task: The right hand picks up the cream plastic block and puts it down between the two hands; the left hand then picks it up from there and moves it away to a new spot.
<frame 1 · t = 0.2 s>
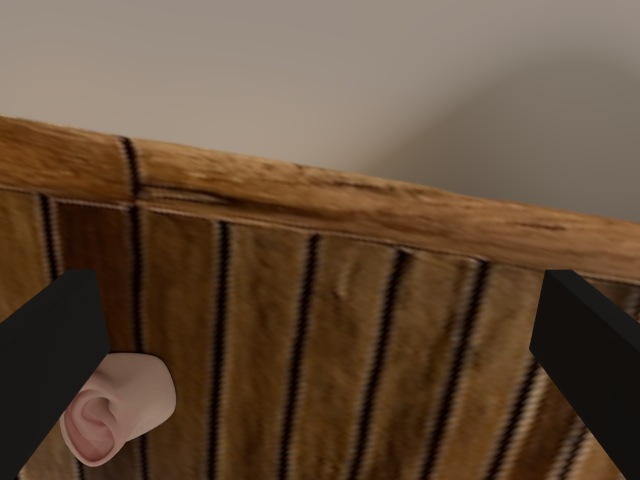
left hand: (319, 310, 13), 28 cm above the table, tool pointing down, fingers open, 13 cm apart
anatomical model: (124, 394, 49), on the table
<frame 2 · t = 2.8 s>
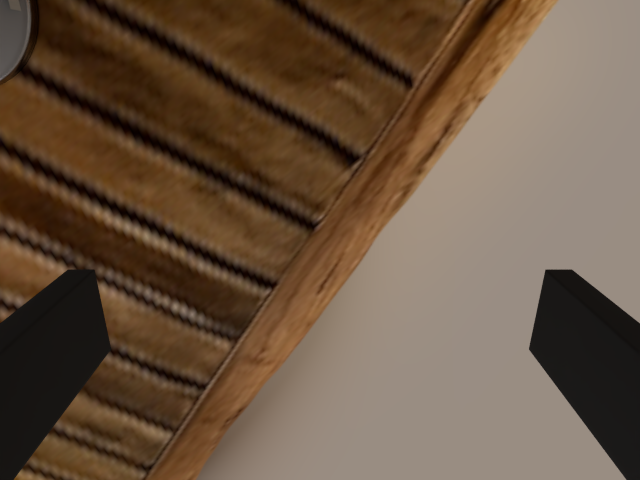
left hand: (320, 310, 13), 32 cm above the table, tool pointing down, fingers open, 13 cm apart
when the right hand's fingers open (2 cm above the table, at t = 7.1 s): block stays where it is, on the table.
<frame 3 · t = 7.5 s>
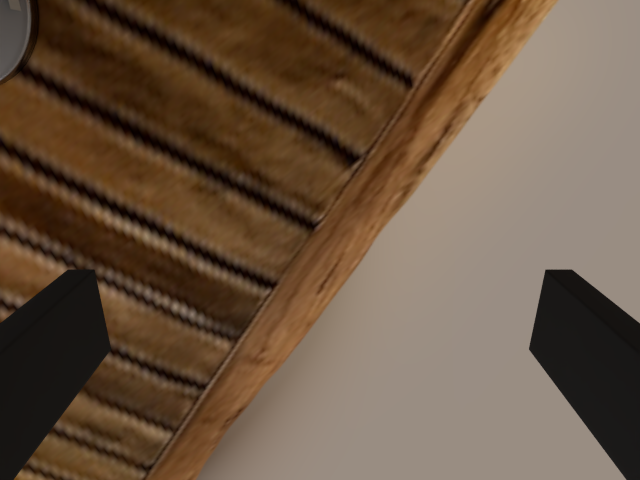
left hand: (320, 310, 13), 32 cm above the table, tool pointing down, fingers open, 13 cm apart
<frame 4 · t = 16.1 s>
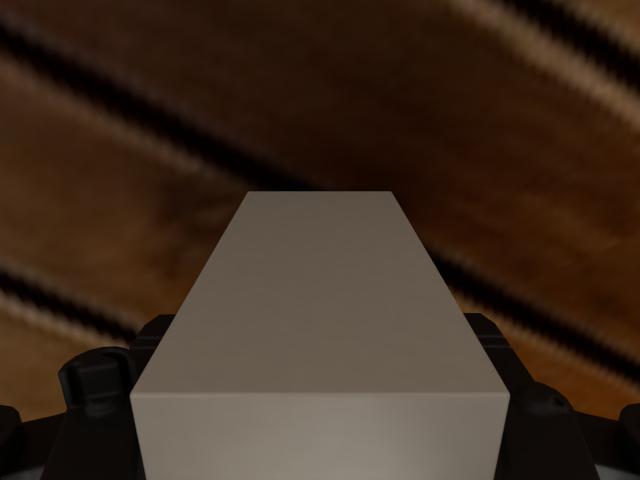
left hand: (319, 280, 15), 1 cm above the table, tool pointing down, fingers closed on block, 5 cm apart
block: (319, 261, 16), on the table, touching left hand
when the left hand's fingers open (2 cm above the table, at t = 22.5 s): block stays where it is, on the table.
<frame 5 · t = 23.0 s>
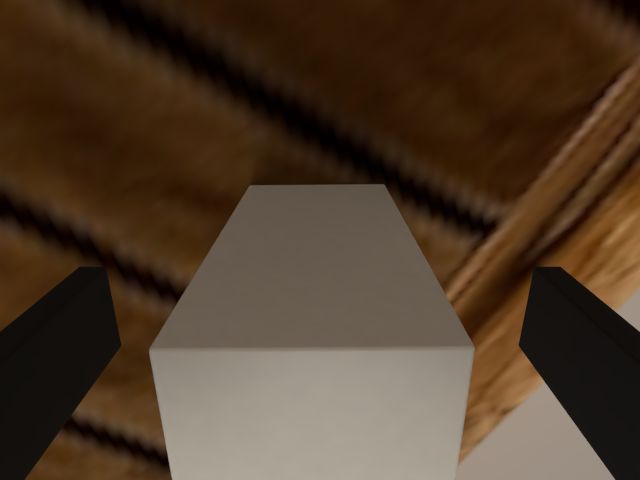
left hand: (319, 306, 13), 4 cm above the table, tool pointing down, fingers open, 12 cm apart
block: (317, 251, 17), on the table
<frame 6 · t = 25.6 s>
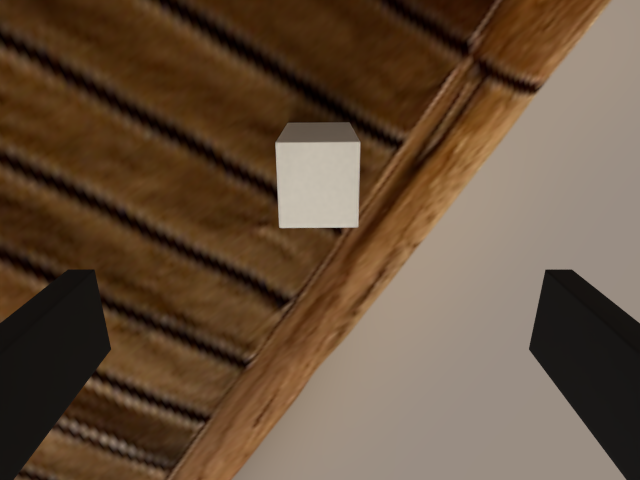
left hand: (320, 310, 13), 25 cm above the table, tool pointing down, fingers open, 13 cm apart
block: (318, 155, 36), on the table
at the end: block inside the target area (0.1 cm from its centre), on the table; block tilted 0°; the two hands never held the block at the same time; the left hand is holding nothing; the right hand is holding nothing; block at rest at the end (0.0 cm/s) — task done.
